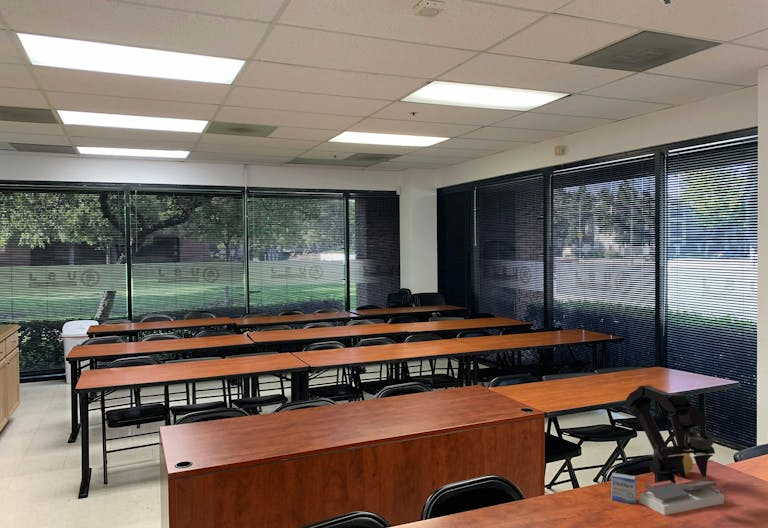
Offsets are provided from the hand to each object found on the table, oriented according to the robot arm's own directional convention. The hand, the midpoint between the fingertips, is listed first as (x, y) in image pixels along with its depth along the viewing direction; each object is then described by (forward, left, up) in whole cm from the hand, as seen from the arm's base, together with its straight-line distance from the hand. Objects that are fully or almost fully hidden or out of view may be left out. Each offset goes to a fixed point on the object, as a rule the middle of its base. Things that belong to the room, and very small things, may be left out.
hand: (694, 477), depth 190 cm
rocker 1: (-5, -7, -6) cm, 11 cm away
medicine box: (-14, -17, -11) cm, 25 cm away
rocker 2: (-5, +7, -6) cm, 11 cm away
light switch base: (-5, 0, -11) cm, 12 cm away
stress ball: (-26, +22, -11) cm, 36 cm away
